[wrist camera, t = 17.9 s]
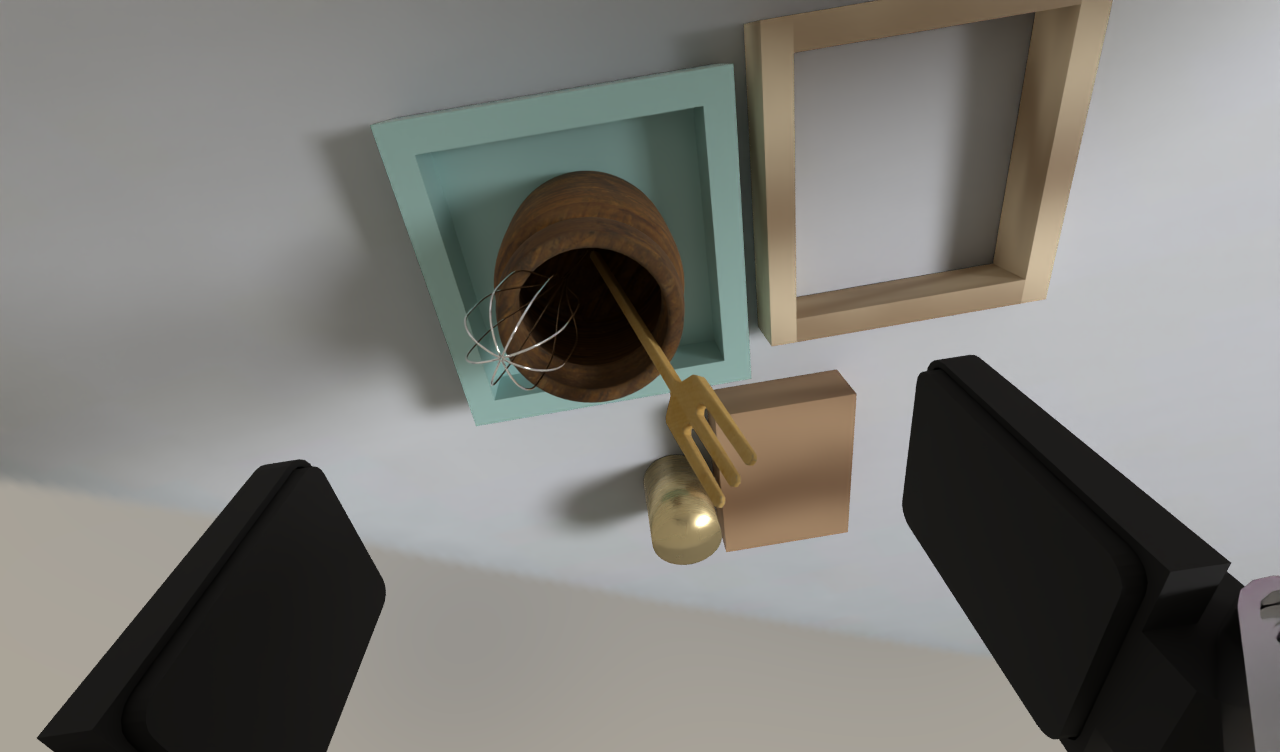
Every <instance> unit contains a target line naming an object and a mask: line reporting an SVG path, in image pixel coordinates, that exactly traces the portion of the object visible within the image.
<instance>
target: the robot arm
mask: <svg viewBox="0 0 1280 752" xmlns="http://www.w3.org/2000/svg"><path fill="white" fill-rule="evenodd" d="M902 507H903V513H904V516H905V519H906V522H907V524H908V525H909V527H910V529H911V530H912V532H913V533H914V535H915V537H916V538H917V540H918V541H919V543H920V544H921V546H922V547H923V549H924V550H925V552H926V554H927V555H928V557H929V558H930V560H931V561H932V563H933V564H934V566H935V568H936V569H937V571H938V572H939V574H940V575H941V577H942V578H943V580H944V581H945V583H946V585H947V586H948V588H949V589H950V591H951V592H952V594H953V595H954V597H955V598H956V600H957V602H958V603H959V605H960V606H961V608H962V609H963V611H964V612H965V614H966V616H967V617H968V619H969V620H970V622H971V623H972V625H973V626H974V628H975V629H976V631H977V633H978V634H979V636H980V637H981V639H982V640H983V642H984V643H985V645H986V647H987V648H988V650H989V651H990V653H991V654H992V656H993V657H994V659H995V660H996V662H997V664H998V665H999V667H1000V668H1001V670H1002V671H1003V673H1004V674H1005V676H1006V678H1007V679H1008V681H1009V682H1010V684H1011V685H1012V687H1013V688H1014V690H1015V691H1016V693H1017V695H1018V696H1019V698H1020V699H1021V701H1022V702H1023V704H1024V705H1025V707H1026V709H1027V710H1028V711H1029V713H1030V715H1031V716H1032V717H1033V719H1034V721H1035V722H1036V724H1037V725H1038V727H1039V728H1040V729H1041V731H1042V732H1043V733H1044V734H1045V735H1047V736H1048V737H1050V738H1051V739H1059V740H1060V741H1061V743H1062V744H1063V745H1064V747H1065V749H1066V750H1067V752H1280V576H1269V577H1264V578H1260V579H1256V580H1252V581H1251V582H1250V583H1249V584H1247V585H1246V586H1244V585H1242V584H1241V583H1240V582H1239V581H1238V580H1236V579H1235V578H1234V577H1233V576H1232V575H1230V574H1229V573H1228V572H1227V570H1228V568H1229V566H1230V564H1231V562H1229V561H1228V560H1227V559H1226V558H1225V557H1223V556H1222V555H1221V554H1220V553H1218V552H1217V551H1216V550H1215V549H1214V548H1212V547H1211V546H1210V545H1209V544H1207V543H1206V542H1205V541H1204V540H1202V539H1201V538H1200V537H1199V536H1198V535H1196V534H1195V533H1194V532H1193V531H1191V530H1190V529H1189V528H1188V527H1187V526H1185V525H1184V524H1183V523H1182V522H1180V521H1179V520H1178V519H1177V518H1176V517H1174V516H1173V515H1172V514H1171V513H1169V512H1168V511H1167V510H1166V509H1164V508H1163V507H1162V506H1161V505H1160V504H1158V503H1157V502H1156V501H1155V500H1153V499H1152V498H1151V497H1150V496H1149V495H1147V494H1146V493H1145V492H1144V491H1142V490H1141V489H1140V488H1139V487H1137V486H1136V485H1135V484H1134V483H1133V482H1131V481H1130V480H1129V479H1128V478H1126V477H1125V476H1124V475H1123V474H1122V473H1120V472H1119V471H1118V470H1117V469H1115V468H1114V467H1113V466H1112V465H1111V464H1109V463H1108V462H1107V461H1106V460H1104V459H1103V458H1102V457H1101V456H1099V455H1098V454H1097V453H1096V452H1095V451H1093V450H1092V449H1091V448H1090V447H1088V446H1087V445H1086V444H1085V443H1084V442H1082V441H1081V440H1080V439H1079V438H1077V437H1076V436H1075V435H1074V434H1073V433H1071V432H1070V431H1069V430H1068V429H1066V428H1065V427H1064V426H1063V425H1061V424H1060V423H1059V422H1058V421H1057V420H1055V419H1054V418H1053V417H1052V416H1050V415H1049V414H1048V413H1047V412H1046V411H1044V410H1043V409H1042V408H1041V407H1039V406H1038V405H1037V404H1036V403H1035V402H1033V401H1032V400H1031V399H1030V398H1028V397H1027V396H1026V395H1025V394H1023V393H1022V392H1021V391H1020V390H1019V389H1017V388H1016V387H1015V386H1014V385H1012V384H1011V383H1010V382H1009V381H1008V380H1006V379H1005V378H1004V377H1003V376H1001V375H1000V374H999V373H998V372H997V371H995V370H994V369H993V368H992V367H990V366H989V365H988V364H987V363H985V362H984V361H983V360H982V359H981V358H979V357H977V356H975V355H966V356H960V357H953V358H947V359H941V360H935V361H933V362H931V363H930V365H929V367H928V369H927V371H925V372H922V373H920V374H919V376H918V379H917V384H916V392H915V401H914V409H913V417H912V426H911V434H910V442H909V450H908V459H907V467H906V475H905V483H904V492H903V500H902ZM385 596H386V590H385V584H384V581H383V579H382V577H381V575H380V573H379V571H378V570H377V568H376V566H375V564H374V563H373V561H372V559H371V557H370V555H369V553H368V552H367V550H366V548H365V546H364V544H363V543H362V541H361V539H360V537H359V536H358V534H357V532H356V530H355V528H354V527H353V525H352V523H351V521H350V519H349V518H348V516H347V514H346V512H345V510H344V509H343V507H342V505H341V503H340V501H339V500H338V498H337V496H336V494H335V492H334V491H333V489H332V487H331V485H330V483H329V482H328V480H327V478H326V476H325V474H324V473H323V472H322V470H321V469H319V468H318V467H312V466H311V465H310V463H308V462H307V461H305V460H300V459H299V460H292V461H286V462H279V463H273V464H267V465H263V466H260V467H259V468H258V469H257V470H256V471H255V472H254V473H253V474H252V475H251V477H250V478H249V479H248V480H247V481H246V483H245V484H244V485H243V486H242V488H241V489H240V490H239V491H238V492H237V494H236V495H235V496H234V497H233V499H232V500H231V501H230V502H229V503H228V505H227V506H226V507H225V508H224V510H223V511H222V512H221V513H220V514H219V516H218V517H217V518H216V519H215V521H214V522H213V523H212V524H211V526H210V527H209V528H208V529H207V531H206V532H205V533H204V534H203V535H202V536H201V538H200V539H199V540H198V541H197V543H196V544H195V545H194V546H193V547H192V549H191V550H190V551H189V552H188V554H187V555H186V556H185V557H184V558H183V560H182V561H181V562H180V563H179V565H178V566H177V567H176V568H175V569H174V571H173V572H172V573H171V574H170V576H169V577H168V578H167V579H166V580H165V582H164V583H163V584H162V585H161V587H160V588H159V589H158V590H157V591H156V593H155V594H154V595H153V596H152V598H151V599H150V600H149V601H148V602H147V604H146V605H145V606H144V607H143V609H142V610H141V611H140V612H139V613H138V615H137V616H136V617H135V618H134V620H133V621H132V622H131V623H130V624H129V626H128V627H127V628H126V629H125V631H124V632H123V633H122V634H121V635H120V637H119V638H118V639H117V640H116V642H115V643H114V644H113V645H112V646H111V648H110V649H109V650H108V651H107V653H106V654H105V655H104V656H103V657H102V659H101V660H100V661H99V662H98V664H97V665H96V666H95V667H94V668H93V670H92V671H91V672H90V674H89V675H88V676H87V677H86V678H85V679H84V681H83V682H82V683H81V684H80V686H79V687H78V688H77V689H76V690H75V692H74V693H73V694H72V695H71V697H70V698H69V699H68V700H67V702H66V703H65V704H64V705H63V706H62V708H61V709H60V710H59V711H58V712H57V714H56V715H55V716H54V717H53V719H52V720H51V721H50V722H49V723H48V725H47V726H46V727H45V728H44V730H43V731H42V732H41V733H40V735H39V736H38V737H37V739H38V740H40V741H41V742H42V743H44V744H45V745H46V746H47V747H49V748H50V749H51V750H52V751H54V752H326V751H327V749H328V746H329V744H330V741H331V738H332V736H333V734H334V731H335V728H336V726H337V723H338V721H339V718H340V716H341V713H342V710H343V707H344V705H345V703H346V700H347V698H348V695H349V692H350V690H351V687H352V685H353V682H354V680H355V677H356V675H357V672H358V669H359V667H360V664H361V661H362V659H363V656H364V654H365V652H366V649H367V646H368V644H369V641H370V638H371V636H372V634H373V631H374V628H375V625H376V623H377V621H378V618H379V616H380V613H381V610H382V608H383V605H384V602H385Z"/></svg>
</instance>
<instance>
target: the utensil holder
mask: <svg viewBox="0 0 1280 752" xmlns="http://www.w3.org/2000/svg"><path fill="white" fill-rule="evenodd" d="M684 289H685V281H684V271H683V265H682V261H681V257H680V254H679V251H678V248H677V245H676V243H675V241H674V239H673V236H672V234H671V232H670V230H669V228H668V226H667V225H666V223H665V221H664V219H663V217H662V216H661V214H660V212H659V211H658V209H657V208H656V206H655V205H654V204H653V203H652V201H651V200H650V199H649V198H648V197H647V196H646V195H645V194H644V193H643V192H642V191H641V190H639V189H638V188H637V187H635V186H634V185H632V184H631V183H629V182H628V181H626V180H624V179H622V178H619V177H617V176H615V175H612V174H608V173H604V172H599V171H575V172H569V173H565V174H562V175H559V176H557V177H554V178H552V179H550V180H548V181H546V182H545V183H543V184H542V185H540V186H539V187H537V188H536V189H535V190H534V191H532V192H531V193H530V194H529V195H528V196H527V198H526V199H525V200H524V201H523V202H522V204H521V205H520V206H519V208H518V209H517V211H516V213H515V214H514V216H513V218H512V220H511V222H510V224H509V226H508V229H507V231H506V233H505V235H504V238H503V240H502V243H501V246H500V248H499V252H498V255H497V259H496V264H495V270H494V291H493V292H492V293H490V294H488V295H486V296H485V297H483V298H482V299H481V300H480V301H479V302H478V303H476V304H475V305H474V306H473V307H472V309H471V310H470V311H469V312H468V313H467V314H466V316H465V318H464V325H465V329H466V331H467V333H468V334H469V336H470V337H471V339H472V340H473V341H474V342H475V344H474V345H473V347H472V348H471V349H470V350H469V351H468V353H467V354H466V357H465V358H466V361H467V362H469V363H472V364H482V363H489V362H493V361H497V360H499V362H498V364H497V366H496V369H495V371H494V373H493V376H492V379H491V386H494V385H495V384H496V383H497V382H498V381H499V380H500V378H501V377H502V376H503V374H504V373H505V372H507V373H508V375H509V377H510V378H511V379H512V381H513V382H514V383H515V384H516V385H517V386H518V387H520V388H521V389H523V390H533V389H534V388H535V387H538V388H539V389H541V390H543V391H545V392H547V393H549V394H551V395H553V396H556V397H559V398H562V399H566V400H570V401H575V402H584V403H597V402H606V401H612V400H616V399H620V398H623V397H626V396H628V395H631V394H633V393H635V392H637V391H639V390H640V389H642V388H644V387H645V386H647V385H648V384H650V383H651V382H652V381H653V380H655V379H656V378H657V377H658V376H659V375H661V376H662V378H663V380H664V381H665V383H666V385H667V386H668V388H669V390H670V395H671V397H670V401H669V405H668V410H667V414H666V424H667V425H668V427H669V429H670V431H671V433H672V434H673V436H674V438H675V440H676V441H677V443H678V445H679V446H680V448H681V450H682V452H683V453H684V455H685V457H686V458H687V460H688V462H689V464H690V465H691V467H692V469H693V470H694V472H695V474H696V476H697V477H698V479H699V481H700V482H701V484H702V486H703V488H704V489H705V491H706V493H707V494H708V496H709V498H710V500H711V501H712V503H713V505H714V506H715V507H718V508H722V507H723V506H724V504H725V496H724V494H723V493H722V491H721V489H720V487H719V485H718V484H717V482H716V480H715V478H714V476H713V475H712V473H711V471H710V469H709V467H708V466H707V464H706V462H705V460H704V458H703V456H702V455H701V453H700V451H699V449H698V447H697V446H696V444H695V442H694V440H693V438H692V437H691V430H692V428H693V429H694V430H695V432H696V434H697V435H698V437H699V438H700V440H701V441H702V443H703V445H704V446H705V448H706V449H707V451H708V453H709V454H710V456H711V457H712V459H713V460H714V462H715V464H716V465H717V467H718V468H719V470H720V471H721V473H722V475H723V476H724V478H725V479H726V481H727V482H728V484H729V486H731V487H738V486H739V484H740V483H741V476H740V475H739V473H738V471H737V470H736V468H735V467H734V465H733V463H732V462H731V460H730V458H729V457H728V455H727V453H726V452H725V450H724V448H723V447H722V445H721V443H720V442H719V440H718V439H717V437H716V435H715V434H714V432H713V430H712V429H711V427H710V425H709V424H708V422H707V420H706V419H705V417H704V411H705V409H706V408H707V410H708V411H709V412H710V414H711V415H712V417H713V418H714V420H715V421H716V423H717V424H718V425H719V427H720V428H721V430H722V431H723V433H724V434H725V436H726V437H727V439H728V440H729V441H730V443H731V444H732V446H733V447H734V449H735V450H736V452H737V453H738V454H739V456H740V457H741V459H742V460H743V462H744V463H745V464H746V465H748V466H753V465H754V464H755V463H756V461H757V455H756V453H755V452H754V450H753V449H752V447H751V446H750V444H749V443H748V441H747V440H746V438H745V437H744V435H743V434H742V432H741V431H740V429H739V428H738V426H737V425H736V423H735V422H734V420H733V419H732V417H731V416H730V414H729V413H728V411H727V410H726V408H725V407H724V405H723V404H722V402H721V401H720V399H719V398H718V396H717V395H716V393H715V392H714V390H713V389H712V387H711V386H710V384H709V383H708V382H707V380H706V379H705V378H704V377H701V376H698V375H691V376H690V377H688V378H687V379H685V380H683V381H681V379H680V378H679V376H678V375H677V373H676V371H675V370H674V368H673V367H672V365H671V364H670V361H671V360H672V358H673V356H674V355H675V353H676V350H677V348H678V346H679V343H680V340H681V337H682V332H683V327H684V315H685V303H684ZM494 294H495V300H496V320H497V324H495V325H494V326H493V324H492V301H493V297H494ZM490 295H492V296H491V300H490V306H489V319H490V327H491V328H490V329H489V330H488V331H487V332H486V333H485V334H484V335H483V336H482V337H481V338H480V339H479V340H478V341H477V340H476V339H475V338H474V337H473V336H472V335H471V333H470V332H469V330H468V327H467V323H466V320H467V317H468V315H469V314H470V313H471V312H472V311H473V310H474V309H475V307H476V306H477V305H478V304H480V303H481V302H482V301H483V300H484V299H485V298H487V297H489V296H490ZM496 326H498V332H499V336H500V340H501V343H502V345H503V348H504V351H503V353H502V355H501V353H500V351H499V348H498V345H497V342H496V339H495V335H494V330H493V328H495V327H496ZM490 331H491V332H492V337H493V340H494V344H495V347H496V350H497V352H498V355H499V356H498V355H496V354H495V353H493V352H491V351H490V350H488V349H486V348H485V347H484V346H482V345H481V344H480V343H479V342H480V341H481V340H482V339H483V338H484V337H485V335H486V334H488V333H489V332H490ZM477 344H478V345H479V346H480V347H481V348H483V349H484V350H485V351H487V352H488V353H490V354H492V355H493V356H495V357H497V358H496V359H492V360H487V361H479V362H473V361H470V360H468V355H469V354H470V352H471V351H472V350H473V349H474V347H475V346H476V345H477ZM505 352H506V354H507V356H504V354H505ZM503 356H504V357H503ZM501 358H502V359H501ZM505 358H509V359H510V361H508V360H506V359H505ZM504 361H505V362H507V363H509V364H508V366H507V367H506V365H505V363H504ZM501 362H502V364H503V366H504V368H505V370H504V371H503V372H502V374H501V375H500V376H499V378H498V379H497V380H496V381H495V382H494V383H493V380H494V377H495V375H496V372H497V370H498V367H499V365H500V363H501ZM511 364H512V365H514V366H515V368H516V369H517V370H518V371H519V372H520V373H521V374H522V375H523V376H524V377H525V378H526V379H527V380H528V381H529V382H531V383H532V384H533V385H534V386H533V387H532V388H524V387H522V386H521V385H519V384H518V383H517V382H516V381H515V380H514V378H513V377H512V375H511V374H510V372H509V371H508V368H509V366H510V365H511Z"/></svg>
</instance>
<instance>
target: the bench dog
mask: <svg viewBox="0 0 1280 752" xmlns="http://www.w3.org/2000/svg"><path fill="white" fill-rule="evenodd" d="M644 489H645V496H646V503H647V510H648V517H649V524H650V531H651V537H652V544H653V549H654V551H655V552H656V554H657V555H658V556H659V557H660V558H661V559H663V560H665V561H667V562H669V563H672V564H678V565H687V564H693V563H697V562H700V561H702V560H704V559H706V558H708V557H709V556H711V555H712V554H713V553H714V552H715V551H716V550H717V548H718V547H719V545H720V543H721V539H722V532H721V528H720V525H719V522H718V518H717V515H716V511H715V508H714V505H713V503H712V501H711V500H710V498H709V496H708V494H707V493H706V491H705V489H704V488H703V486H702V484H701V482H700V481H699V479H698V477H697V476H696V474H695V472H694V470H693V469H692V467H691V465H690V464H689V462H688V460H687V458H686V457H685V456H684V455H670V456H666V457H663V458H661V459H659V460H657V461H655V462H654V463H653V464H652V465H651V466H650V467H649V468H648V469H647V471H646V473H645V475H644Z"/></svg>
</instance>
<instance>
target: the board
mask: <svg viewBox="0 0 1280 752" xmlns="http://www.w3.org/2000/svg"><path fill="white" fill-rule="evenodd" d="M714 392H715V393H716V395H717V396H718V398H719V399H720V401H721V402H722V404H723V405H724V407H725V408H726V410H727V411H728V413H729V414H730V416H731V417H732V419H733V420H734V422H735V423H736V425H737V426H738V428H739V429H740V431H741V432H742V434H743V435H744V437H745V438H746V440H747V441H748V443H749V444H750V446H751V447H752V449H753V450H754V452H755V453H756V455H757V461H756V463H755V464H754V465H753V466H748V465H746V464H745V463H744V462H743V460H742V459H741V457H740V456H739V454H738V453H737V452H736V450H735V449H734V447H733V446H732V444H731V443H730V441H729V440H728V439H727V437H726V436H725V434H724V433H723V431H722V430H721V428H720V427H719V425H718V424H717V423H716V421H715V420H714V418H713V417H712V415H711V414H710V412H709V411H708V410H707V412H708V423H709V425H710V427H711V429H712V430H713V432H714V434H715V435H716V437H717V439H718V440H719V442H720V443H721V445H722V447H723V448H724V450H725V452H726V453H727V455H728V457H729V458H730V460H731V462H732V463H733V465H734V467H735V468H736V470H737V471H738V473H739V475H740V476H741V483H740V484H739V486H738V487H731V486H729V484H728V482H727V481H726V479H725V478H724V476H723V475H722V473H721V471H720V470H719V468H718V467H717V465H716V464H715V462H714V460H713V459H712V466H713V476H714V478H715V480H716V482H717V484H718V485H719V487H720V489H721V491H722V493H723V494H724V496H725V504H724V506H723V507H722V508H718V507H716V509H717V518H718V522H719V525H720V528H721V532H722V538H723V542H724V545H725V549H726V552H730V551H736V550H742V549H748V548H754V547H760V546H766V545H772V544H778V543H784V542H791V541H797V540H803V539H809V538H815V537H821V536H827V535H833V534H839V533H845V532H848V519H849V503H850V487H851V472H852V456H853V440H854V425H855V409H856V393H855V391H854V390H853V389H852V388H851V387H850V385H849V384H848V383H847V382H846V380H845V379H844V378H843V377H842V376H841V374H840V373H839V372H838V371H837V370H831V371H825V372H819V373H813V374H807V375H801V376H795V377H789V378H783V379H776V380H770V381H764V382H758V383H752V384H746V385H740V386H734V387H728V388H722V389H716V390H714Z"/></svg>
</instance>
